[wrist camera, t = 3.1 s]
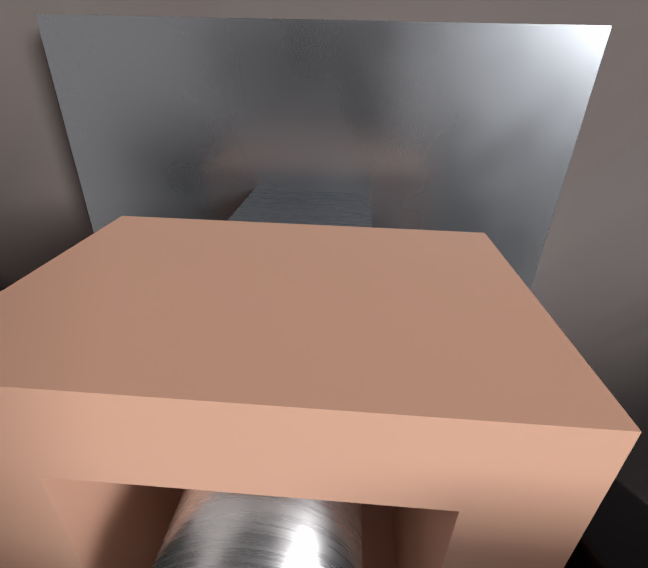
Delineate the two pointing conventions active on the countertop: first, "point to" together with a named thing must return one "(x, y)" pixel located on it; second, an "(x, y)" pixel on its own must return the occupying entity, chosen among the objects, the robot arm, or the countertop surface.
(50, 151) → the countertop surface
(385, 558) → the collar
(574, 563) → the robot arm
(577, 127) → the grey plate with rod
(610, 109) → the countertop surface
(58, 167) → the countertop surface
